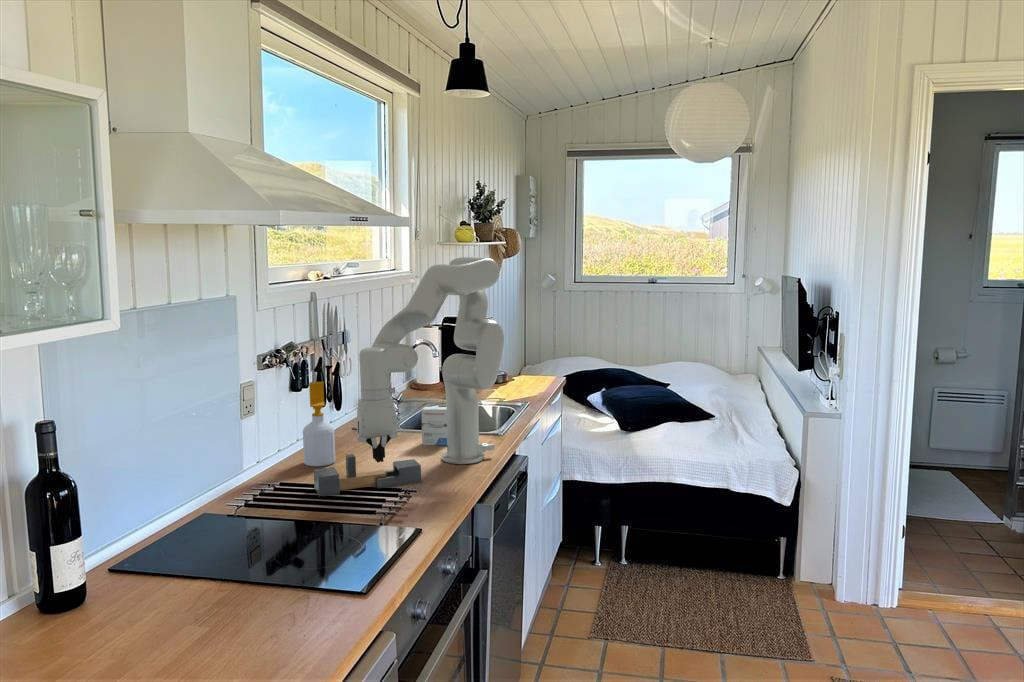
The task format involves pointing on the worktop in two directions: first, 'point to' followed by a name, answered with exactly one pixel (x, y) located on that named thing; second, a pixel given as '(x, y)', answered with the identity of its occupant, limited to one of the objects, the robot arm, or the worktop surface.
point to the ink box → (434, 426)
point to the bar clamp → (400, 475)
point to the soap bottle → (318, 432)
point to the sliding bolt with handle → (358, 476)
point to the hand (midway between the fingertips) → (379, 460)
